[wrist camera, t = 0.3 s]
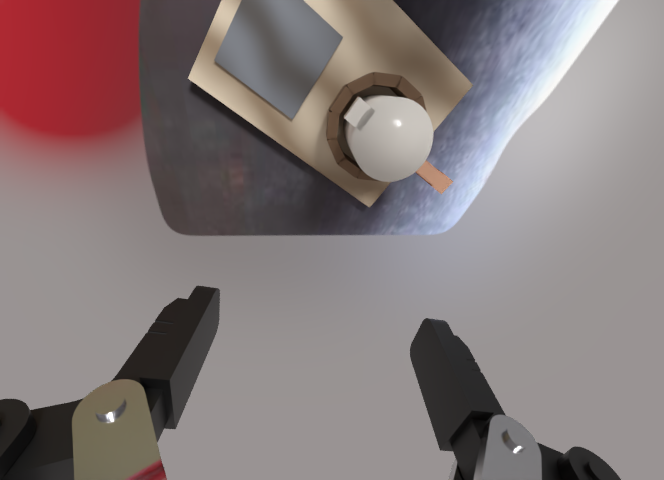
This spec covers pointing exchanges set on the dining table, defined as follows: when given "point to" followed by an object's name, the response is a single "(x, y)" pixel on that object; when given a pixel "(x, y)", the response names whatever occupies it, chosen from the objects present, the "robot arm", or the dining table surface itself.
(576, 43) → the dining table surface
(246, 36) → the serving board
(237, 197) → the dining table surface
